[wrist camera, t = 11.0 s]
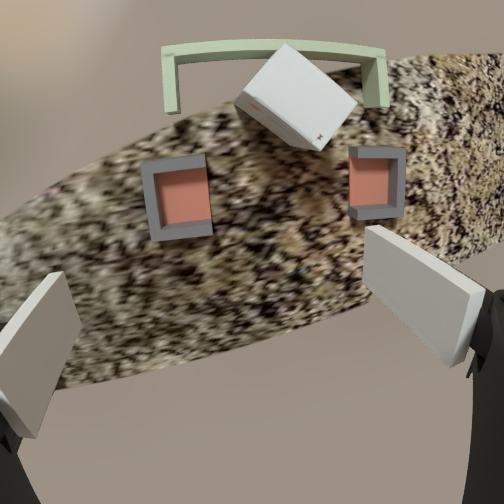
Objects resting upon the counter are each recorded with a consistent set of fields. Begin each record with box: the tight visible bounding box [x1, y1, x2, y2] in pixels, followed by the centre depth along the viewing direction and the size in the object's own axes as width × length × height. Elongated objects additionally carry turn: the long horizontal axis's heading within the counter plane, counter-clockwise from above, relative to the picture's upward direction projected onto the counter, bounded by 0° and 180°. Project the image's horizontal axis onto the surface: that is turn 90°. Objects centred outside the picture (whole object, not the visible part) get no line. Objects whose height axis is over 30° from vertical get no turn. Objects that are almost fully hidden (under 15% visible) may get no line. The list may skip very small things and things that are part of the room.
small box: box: [234, 43, 358, 151], centre depth 27 cm, size 8×6×10 cm
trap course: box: [140, 39, 406, 242], centre depth 31 cm, size 30×20×4 cm
